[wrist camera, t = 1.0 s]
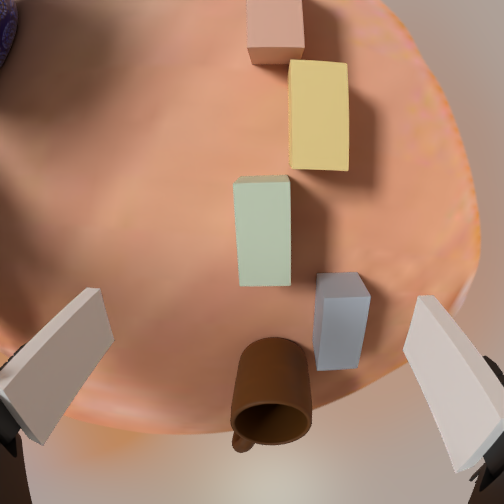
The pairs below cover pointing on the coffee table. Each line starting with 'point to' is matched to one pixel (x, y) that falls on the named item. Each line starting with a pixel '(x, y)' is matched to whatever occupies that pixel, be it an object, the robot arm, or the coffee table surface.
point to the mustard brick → (318, 115)
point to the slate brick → (339, 320)
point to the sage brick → (263, 230)
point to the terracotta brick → (275, 31)
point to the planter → (7, 26)
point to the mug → (271, 395)
